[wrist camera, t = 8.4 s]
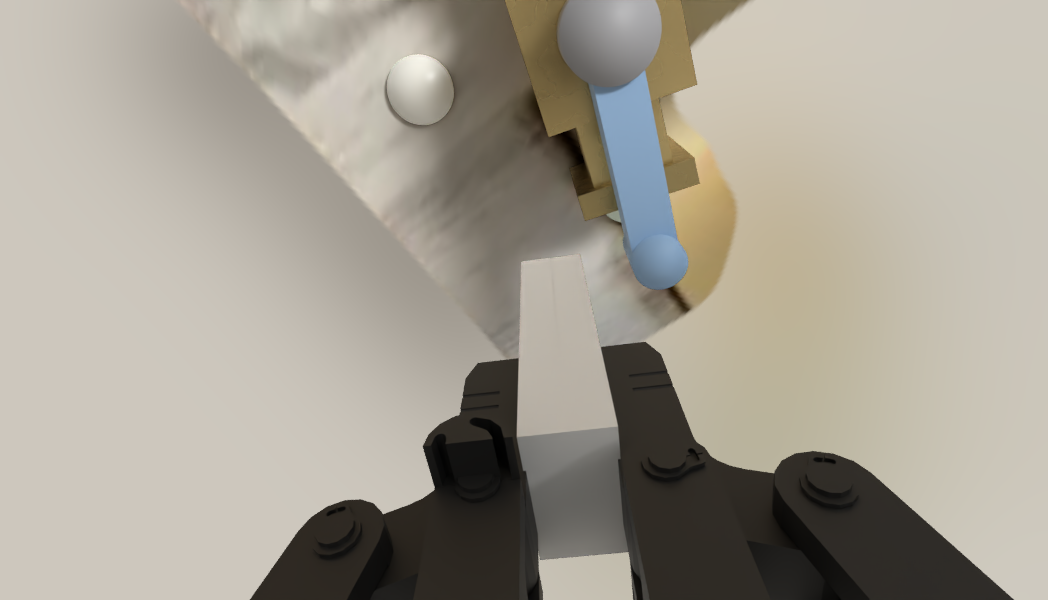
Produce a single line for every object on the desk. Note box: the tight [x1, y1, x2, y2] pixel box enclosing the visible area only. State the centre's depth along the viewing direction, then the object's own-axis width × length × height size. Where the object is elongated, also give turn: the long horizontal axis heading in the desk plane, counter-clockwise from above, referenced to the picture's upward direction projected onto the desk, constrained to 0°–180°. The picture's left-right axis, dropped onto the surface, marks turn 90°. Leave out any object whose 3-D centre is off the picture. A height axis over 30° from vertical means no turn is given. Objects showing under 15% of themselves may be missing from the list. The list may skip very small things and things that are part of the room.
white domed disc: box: [387, 54, 454, 125], centre depth 37 cm, size 4×4×1 cm
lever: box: [556, 0, 688, 290], centre depth 28 cm, size 15×4×4 cm, turn 17°
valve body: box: [505, 0, 700, 221], centre depth 31 cm, size 20×8×9 cm, turn 19°
